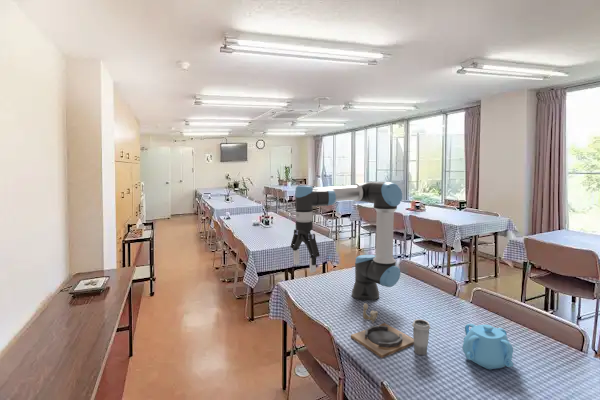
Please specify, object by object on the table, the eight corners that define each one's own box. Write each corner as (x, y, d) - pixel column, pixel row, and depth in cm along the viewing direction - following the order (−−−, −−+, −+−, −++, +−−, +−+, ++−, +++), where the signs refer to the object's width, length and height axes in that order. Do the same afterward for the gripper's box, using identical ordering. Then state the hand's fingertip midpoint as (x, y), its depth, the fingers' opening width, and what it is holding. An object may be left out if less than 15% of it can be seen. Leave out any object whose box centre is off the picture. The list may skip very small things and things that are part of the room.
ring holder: (384, 325, 151) (384, 319, 151) (416, 343, 136) (416, 336, 136) (350, 337, 141) (350, 331, 140) (381, 358, 125) (381, 351, 125)
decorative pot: (513, 379, 112) (516, 342, 111) (461, 366, 120) (463, 330, 119) (510, 355, 127) (512, 321, 125) (463, 345, 134) (465, 313, 133)
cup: (427, 358, 125) (428, 328, 123) (409, 353, 128) (410, 324, 127) (431, 349, 131) (432, 321, 129) (413, 345, 134) (414, 317, 133)
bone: (385, 318, 154) (376, 303, 152) (376, 328, 152) (367, 312, 149) (373, 313, 162) (365, 297, 159) (365, 322, 160) (356, 306, 157)
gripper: (282, 217, 153) (283, 262, 155) (312, 225, 132) (312, 277, 134) (296, 216, 157) (297, 259, 159) (327, 224, 136) (327, 274, 138)
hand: (304, 268), depth 146 cm, fingers open, 13 cm apart
